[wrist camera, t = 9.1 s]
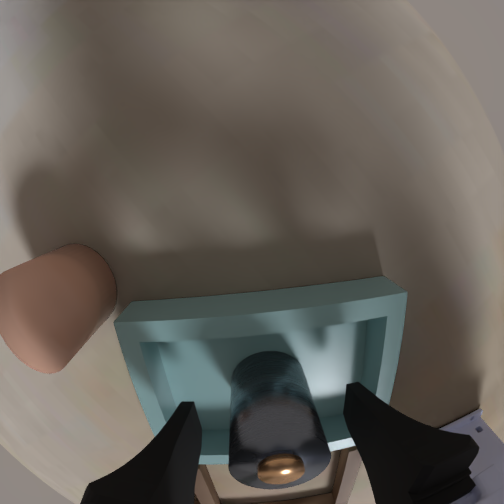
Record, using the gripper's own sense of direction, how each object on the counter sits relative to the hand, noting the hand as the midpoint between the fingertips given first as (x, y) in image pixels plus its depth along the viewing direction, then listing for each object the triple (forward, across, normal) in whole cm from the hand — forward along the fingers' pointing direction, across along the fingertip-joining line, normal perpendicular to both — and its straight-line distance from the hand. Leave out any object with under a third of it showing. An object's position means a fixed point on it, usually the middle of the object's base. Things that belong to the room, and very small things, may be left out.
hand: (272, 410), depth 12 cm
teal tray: (+3, 0, 0) cm, 3 cm away
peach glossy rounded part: (+3, +10, -6) cm, 12 cm away
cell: (+3, 0, 0) cm, 3 cm away
